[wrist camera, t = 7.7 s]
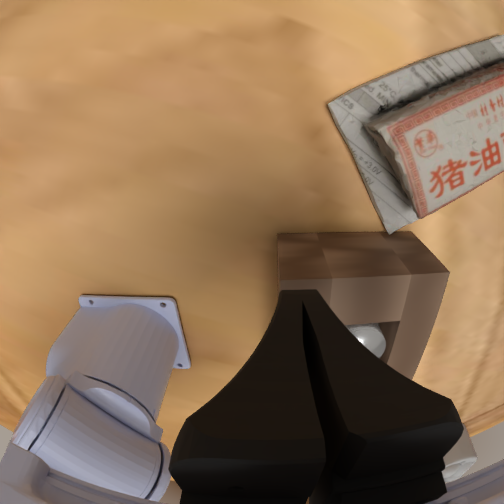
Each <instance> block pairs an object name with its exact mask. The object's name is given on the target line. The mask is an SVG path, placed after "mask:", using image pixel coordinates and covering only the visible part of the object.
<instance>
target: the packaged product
mask: <svg viewBox="0 0 504 504" xmlns="http://www.w3.org/2000/svg"><path fill="white" fill-rule="evenodd" d="M328 107H329V110H330V112H331V114H332V117H333V119H334V122H335V124H336V126H337V128H338V130H339V131H340V133H341V135H342V137H343V139H344V140H345V142H346V144H347V146H348V148H349V149H350V151H351V153H352V155H353V158H354V160H355V162H356V165H357V167H358V169H359V172H360V174H361V176H362V179H363V181H364V183H365V186H366V188H367V191H368V193H369V196H370V198H371V201H372V203H373V206H374V207H375V209H376V211H377V213H378V215H379V217H380V219H381V221H382V222H383V224H384V226H385V228H386V230H387V232H388V234H389V235H390V234H392V233H393V232H395V231H396V230H398V229H400V228H402V227H403V226H405V225H407V224H411V223H413V222H415V221H416V220H418V219H422V218H424V217H425V216H427V215H429V214H432V213H434V212H436V211H438V210H439V209H440V208H442V207H444V206H446V205H448V204H449V203H451V202H453V201H455V200H456V199H458V198H460V197H462V196H464V195H465V194H467V193H469V192H471V191H472V190H474V189H475V188H477V187H479V186H480V185H482V184H484V183H485V182H487V181H489V180H491V179H492V178H494V177H495V176H497V175H499V174H500V173H502V172H504V35H499V36H496V37H493V38H491V39H488V40H485V41H481V42H477V43H473V44H469V45H465V46H462V47H459V48H457V49H454V50H451V51H448V52H445V53H442V54H439V55H436V56H432V57H429V58H426V59H423V60H420V61H418V62H415V63H413V64H410V65H407V66H405V67H403V68H400V69H397V70H395V71H392V72H390V73H388V74H385V75H383V76H381V77H378V78H376V79H374V80H371V81H369V82H367V83H364V84H362V85H360V86H358V87H356V88H353V89H351V90H349V91H348V92H346V93H344V94H343V95H341V96H339V97H338V98H336V99H335V100H333V101H331V102H330V103H328Z"/></svg>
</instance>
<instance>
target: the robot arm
mask: <svg viewBox="0 0 504 504" xmlns="http://www.w3.org/2000/svg"><path fill="white" fill-rule="evenodd" d="M78 300H79V303H80V306H81V307H80V309H79V310H78V311H77V312H76V314H75V315H74V316H73V318H72V319H71V320H70V322H69V323H68V324H67V326H66V327H65V328H64V330H63V331H62V333H61V334H60V335H59V337H58V338H57V340H56V341H55V342H54V344H53V345H52V347H51V349H50V351H49V354H48V358H47V363H46V376H47V378H46V379H45V380H44V382H43V383H42V384H41V386H40V387H39V389H38V390H37V391H36V393H35V395H34V396H33V398H32V399H31V401H30V402H29V404H28V406H27V407H26V409H25V411H24V413H23V414H22V416H21V418H20V420H19V422H18V424H17V426H16V428H15V430H14V432H13V436H12V438H11V440H10V442H9V444H8V446H7V449H6V452H5V454H4V456H3V458H2V460H1V463H0V504H167V503H161V502H158V501H159V500H160V499H161V497H162V496H163V495H164V493H165V491H166V489H167V487H168V485H169V481H170V478H171V476H172V477H173V479H174V480H175V481H176V483H177V484H178V485H179V487H180V488H181V489H182V494H181V499H180V504H306V501H307V499H308V497H309V504H504V459H503V460H501V461H499V462H497V463H494V464H492V465H490V466H488V467H486V468H484V469H481V470H479V471H477V472H474V473H472V474H470V475H467V476H465V477H462V478H460V479H457V480H454V481H451V482H449V483H446V484H445V481H444V478H443V474H442V471H443V470H444V469H445V462H444V459H443V457H444V456H445V455H446V454H447V453H448V452H449V451H450V450H451V449H452V447H453V446H454V445H455V444H456V443H457V442H458V440H459V439H460V437H461V436H462V434H463V430H464V427H463V425H462V422H461V419H460V417H459V414H458V412H457V409H456V408H455V406H454V404H453V402H452V400H451V399H449V398H447V397H445V396H442V395H440V394H438V393H436V392H433V391H431V390H429V389H427V388H425V387H423V386H421V385H419V384H417V383H416V382H414V381H412V380H410V379H409V378H407V377H405V376H404V375H402V374H401V373H399V372H397V371H396V370H395V369H393V368H392V367H390V366H389V365H387V364H386V363H385V362H383V361H382V360H381V359H379V358H378V357H377V356H376V355H374V354H373V353H372V352H371V351H370V350H369V349H367V348H366V347H365V346H364V345H363V344H362V343H361V342H360V341H359V340H358V339H357V338H356V337H355V336H354V335H353V334H352V333H351V332H350V331H349V330H348V328H347V327H346V326H345V325H344V324H343V323H342V322H341V320H340V319H339V318H338V317H337V316H336V314H335V313H334V312H333V311H332V309H331V308H330V307H329V305H328V304H327V303H326V301H325V300H324V298H323V297H322V296H321V294H320V293H319V291H318V290H317V289H302V290H282V291H280V292H279V299H278V303H277V307H276V310H275V312H274V315H273V317H272V320H271V322H270V324H269V326H268V328H267V330H266V332H265V334H264V336H263V338H262V339H261V341H260V343H259V344H258V346H257V348H256V349H255V351H254V352H253V354H252V355H251V356H250V358H249V359H248V361H247V362H246V363H245V364H244V366H243V367H242V368H241V369H240V371H239V372H238V373H237V374H236V375H235V376H234V378H233V379H232V380H231V381H230V382H229V383H228V384H227V385H226V386H225V387H224V388H223V389H222V390H221V391H220V392H219V393H218V394H217V395H216V396H214V397H213V398H212V399H211V400H210V401H209V402H207V403H206V404H205V405H204V406H202V407H201V408H200V409H198V410H197V411H196V412H195V413H193V414H192V415H191V416H189V417H188V418H187V419H186V421H185V422H184V424H183V426H182V428H181V430H180V432H179V434H178V437H177V439H176V442H175V444H174V447H173V450H172V454H171V456H170V452H169V449H168V448H167V446H166V445H165V444H163V443H161V442H160V440H161V436H162V433H163V429H162V428H160V427H159V426H158V425H156V421H157V417H158V414H159V411H160V407H161V404H162V401H163V397H164V394H165V391H166V388H167V385H168V381H169V378H170V375H171V372H172V369H173V368H181V369H188V368H190V366H191V361H190V358H189V354H188V350H187V346H186V342H185V338H184V334H183V330H182V326H181V322H180V318H179V313H178V309H177V304H176V301H175V300H174V299H172V298H169V297H123V296H96V295H81V296H80V297H79V299H78ZM91 300H92V301H93V302H92V301H91ZM162 302H163V303H165V304H166V305H164V304H162ZM179 363H180V364H179Z"/></svg>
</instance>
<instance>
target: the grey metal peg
mask: <svg viewBox="0 0 504 504" xmlns="http://www.w3.org/2000/svg"><path fill="white" fill-rule="evenodd" d="M345 326H346V327H347V328H348V330H349V331H350V332H351V333H352V334H353V335H354V336H355V337H356V338H357V339H358V340H359V341H360V342H361V343H362V344H363V345H364V346H365V347H366V348H367V349H369V350H370V351H371V352H372V353H373V354H374V355H376V356H377V357H378V358H380V357H381V356H382V354H383V353H384V351H385V347H386V341H385V338H384V336H383V333H382V331H381V329H380V326H379V324H378V323H368V324H355V325H345Z"/></svg>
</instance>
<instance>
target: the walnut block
mask: <svg viewBox="0 0 504 504" xmlns="http://www.w3.org/2000/svg"><path fill="white" fill-rule="evenodd" d="M277 256H278V299H279V292H280V291H282V290H302V289H317V290H318V291H319V293H320V294H321V296H322V297H323V298H324V300H325V301H326V303H327V304H328V305H329V307H330V308H331V309H332V311H333V312H334V313H335V314H336V316H337V317H338V318H339V319H340V320H341V322H342V323H343V324H344V325H355V324H368V323H378V324H379V326H380V329H381V331H382V333H383V336H384V338H385V341H386V347H385V351H384V353H383V354H382V356H381V357H380V358H379V359H381V360H382V361H383V362H385V363H386V364H387V365H389V366H390V367H392V368H393V369H395V370H396V371H397V372H399V373H401V374H402V375H404V376H405V377H407V378H409V379H410V380H412V378H413V376H414V374H415V372H416V369H417V367H418V365H419V362H420V360H421V357H422V355H423V352H424V350H425V347H426V345H427V342H428V339H429V337H430V334H431V331H432V328H433V326H434V323H435V320H436V317H437V314H438V311H439V308H440V305H441V301H442V298H443V295H444V292H445V288H446V285H447V281H448V277H449V274H450V272H449V271H448V270H447V268H446V267H445V266H444V265H443V264H442V263H441V262H440V261H439V260H438V259H437V257H436V256H435V255H434V254H433V253H432V252H431V251H430V250H429V249H428V248H427V247H426V246H425V245H424V244H423V243H422V242H421V241H420V240H419V239H418V238H417V237H416V236H415V235H414V234H413V233H412V232H393V233H392V234H390V235H389V234H388V232H336V233H290V234H277Z"/></svg>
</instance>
